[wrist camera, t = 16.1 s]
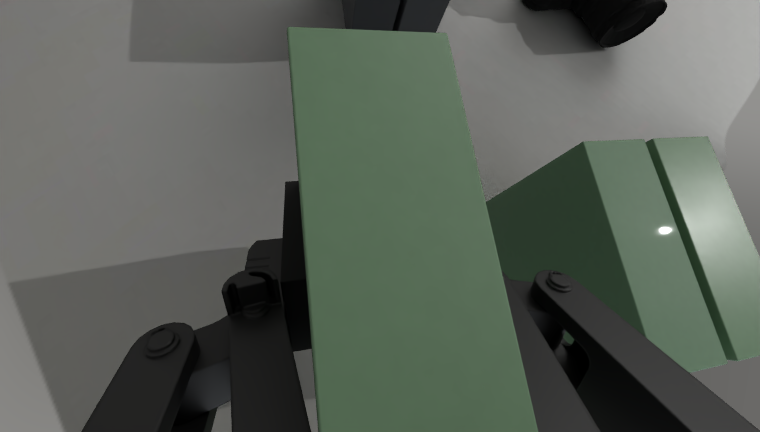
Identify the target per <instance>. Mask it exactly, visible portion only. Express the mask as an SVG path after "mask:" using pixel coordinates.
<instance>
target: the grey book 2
mask: <svg viewBox="0 0 760 432" xmlns="http://www.w3.org/2000/svg"><path fill="white" fill-rule="evenodd" d="M449 1H450V0H400V3H399V7H398V11H397V14H396V18H395V22H394V26H393V29H392V31H406V32H431V33H436V31H437V29H438V26H439V24H440V22H441V19H442V17H443V15H444V12H445V10H446V8H447V5H448V3H449Z"/></svg>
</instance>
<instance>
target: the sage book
mask: <svg viewBox="0 0 760 432" xmlns="http://www.w3.org/2000/svg"><path fill="white" fill-rule="evenodd" d="M287 40H288V52H289V65H290V78H291V90H292V103H293V116H294V128H295V141H296V154H297V166H298V179H299V192H300V205H301V217H302V230H303V243H304V255H305V268H306V281H307V293H308V306H309V319H310V331H311V344H312V357H313V370H314V382H315V395H316V408H317V420H318V432H538V428H537V424H536V419H535V415H534V411H533V406H532V402H531V398H530V393H529V389H528V385H527V380H526V376H525V371H524V367H523V363H522V358H521V354H520V350H519V345H518V341H517V337H516V332H515V328H514V324H513V319H512V315H511V310H510V306H509V302H508V297H507V293H506V289H505V284H504V280H503V276H502V271H501V267H500V262H499V258H498V254H497V249H496V245H495V241H494V236H493V232H492V228H491V223H490V219H489V215H488V210H487V206H486V201H485V197H484V193H483V188H482V184H481V180H480V175H479V171H478V167H477V162H476V158H475V154H474V149H473V145H472V140H471V136H470V132H469V127H468V123H467V119H466V114H465V110H464V106H463V101H462V97H461V93H460V88H459V84H458V79H457V75H456V71H455V66H454V62H453V58H452V53H451V49H450V45H449V40H448V36H447V34H446V33H431V32H406V31H381V30H355V29H330V28H305V27H288V28H287Z"/></svg>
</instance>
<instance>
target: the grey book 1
mask: <svg viewBox="0 0 760 432" xmlns="http://www.w3.org/2000/svg"><path fill="white" fill-rule="evenodd" d="M399 3H400V0H342V4H343V12H344V19H345V27H346V29H355V30H381V31H392V29H393V26H394V22H395V18H396V14H397V11H398V7H399Z"/></svg>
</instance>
